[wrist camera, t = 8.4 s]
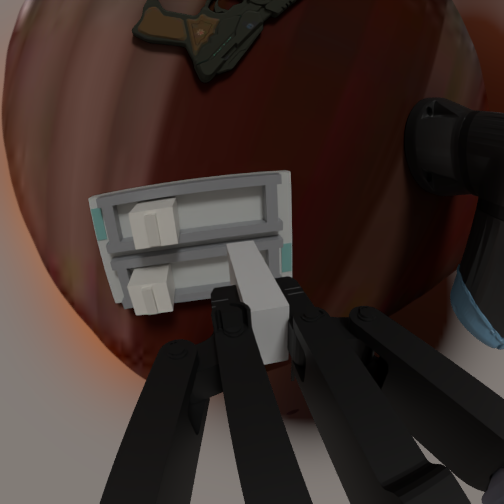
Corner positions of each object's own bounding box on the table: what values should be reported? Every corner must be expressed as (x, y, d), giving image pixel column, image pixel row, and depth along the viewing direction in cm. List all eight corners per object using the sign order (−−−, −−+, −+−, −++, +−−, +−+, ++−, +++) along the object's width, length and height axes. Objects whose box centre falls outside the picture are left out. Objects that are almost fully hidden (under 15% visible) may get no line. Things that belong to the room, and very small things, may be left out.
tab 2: (169, 260, 30) (165, 284, 25) (175, 286, 31) (172, 314, 26) (135, 264, 29) (125, 289, 24) (142, 291, 30) (135, 318, 25)
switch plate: (286, 170, 30) (295, 173, 27) (288, 273, 35) (295, 284, 33) (92, 195, 27) (83, 201, 24) (118, 296, 32) (112, 309, 29)
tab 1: (176, 195, 27) (171, 208, 22) (180, 227, 29) (177, 246, 24) (139, 201, 27) (126, 215, 22) (144, 232, 28) (134, 252, 23)
